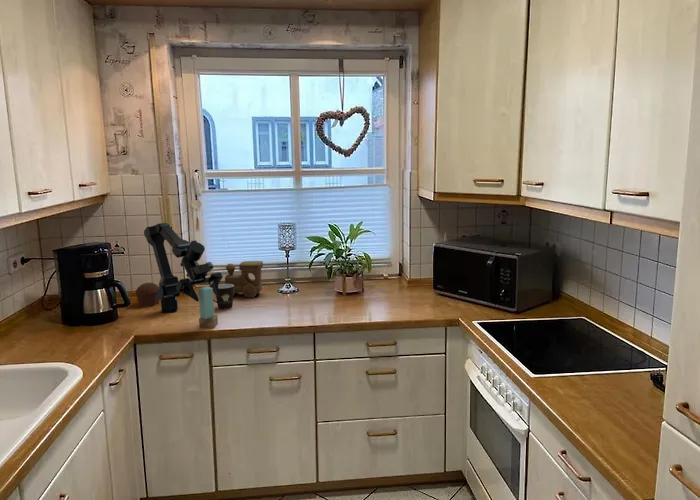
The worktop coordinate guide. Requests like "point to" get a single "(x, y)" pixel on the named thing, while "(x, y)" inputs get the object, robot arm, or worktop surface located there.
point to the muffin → (147, 294)
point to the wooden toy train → (245, 278)
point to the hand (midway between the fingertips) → (208, 298)
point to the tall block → (206, 302)
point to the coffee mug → (225, 296)
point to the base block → (208, 322)
